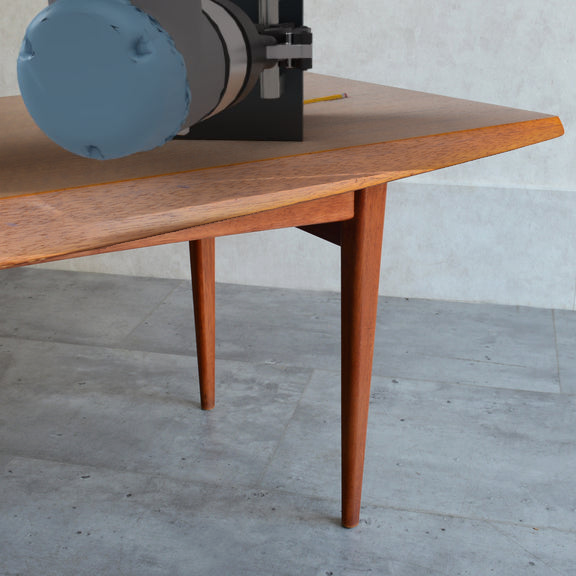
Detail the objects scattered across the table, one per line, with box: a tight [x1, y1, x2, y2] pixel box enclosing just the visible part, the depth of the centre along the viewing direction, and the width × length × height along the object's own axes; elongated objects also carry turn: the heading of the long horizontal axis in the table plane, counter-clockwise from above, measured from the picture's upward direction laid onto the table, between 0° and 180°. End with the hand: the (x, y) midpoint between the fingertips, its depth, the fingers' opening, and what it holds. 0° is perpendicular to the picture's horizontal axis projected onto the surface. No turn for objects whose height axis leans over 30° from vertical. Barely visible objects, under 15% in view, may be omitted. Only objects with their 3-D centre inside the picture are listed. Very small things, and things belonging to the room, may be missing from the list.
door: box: [172, 0, 305, 142], centre depth 68 cm, size 7×20×20 cm, turn 83°
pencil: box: [304, 92, 348, 105], centre depth 101 cm, size 1×13×1 cm, turn 141°
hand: (273, 38), depth 68 cm, fingers open, 2 cm apart
